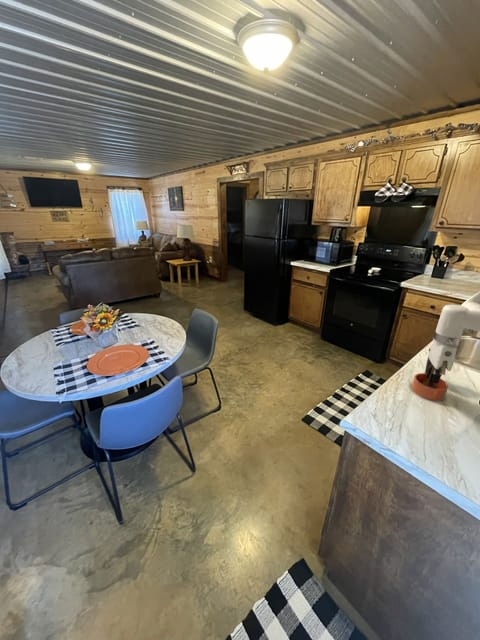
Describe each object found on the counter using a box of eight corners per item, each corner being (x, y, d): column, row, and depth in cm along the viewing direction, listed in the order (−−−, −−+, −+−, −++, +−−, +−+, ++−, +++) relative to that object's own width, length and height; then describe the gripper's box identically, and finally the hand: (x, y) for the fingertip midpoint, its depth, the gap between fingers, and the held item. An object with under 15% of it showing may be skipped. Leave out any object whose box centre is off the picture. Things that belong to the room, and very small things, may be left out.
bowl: (438, 386, 109) (442, 376, 107) (448, 403, 99) (453, 392, 97) (408, 381, 112) (411, 371, 110) (415, 397, 102) (419, 386, 100)
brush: (432, 389, 106) (441, 365, 102) (437, 396, 102) (445, 372, 98) (419, 386, 108) (426, 363, 103) (422, 393, 103) (430, 370, 99)
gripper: (468, 350, 87) (451, 394, 95) (449, 330, 102) (435, 370, 109) (442, 346, 90) (427, 390, 97) (427, 328, 104) (415, 367, 111)
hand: (432, 379), depth 103 cm, fingers closed on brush
